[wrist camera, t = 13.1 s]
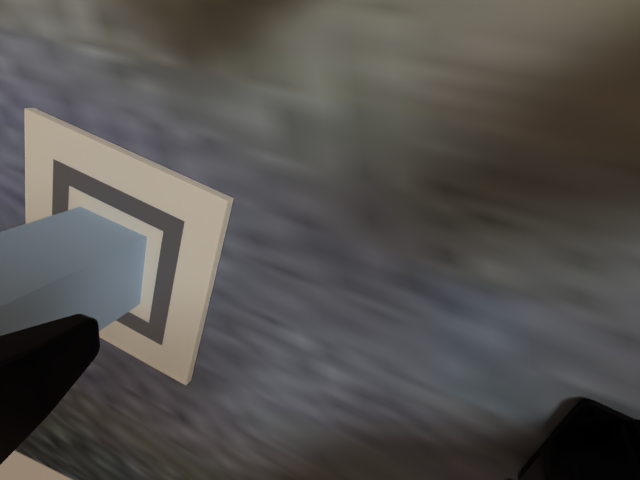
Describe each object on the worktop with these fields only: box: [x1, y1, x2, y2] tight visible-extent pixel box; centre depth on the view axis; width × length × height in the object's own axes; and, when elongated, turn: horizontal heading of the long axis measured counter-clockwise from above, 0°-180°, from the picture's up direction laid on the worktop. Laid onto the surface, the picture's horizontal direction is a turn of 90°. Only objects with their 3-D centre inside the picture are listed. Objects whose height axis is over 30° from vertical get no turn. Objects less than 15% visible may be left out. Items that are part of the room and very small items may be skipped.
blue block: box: [0, 207, 147, 336], centre depth 22 cm, size 5×5×10 cm
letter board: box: [25, 108, 234, 385], centre depth 27 cm, size 14×14×1 cm
